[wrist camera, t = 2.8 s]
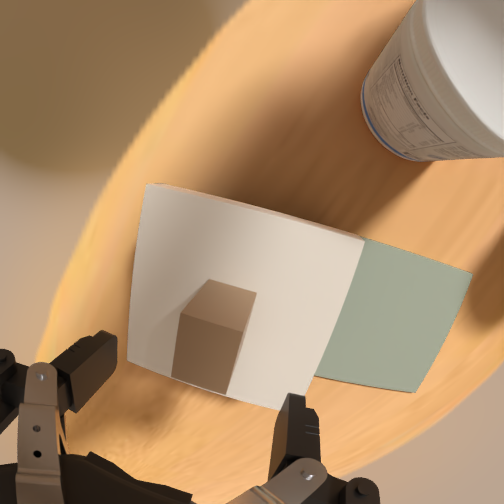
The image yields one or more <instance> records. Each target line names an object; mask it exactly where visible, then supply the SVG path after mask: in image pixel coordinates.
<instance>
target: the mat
mask: <svg viewBox="0 0 504 504" xmlns="http://www.w3.org/2000/svg"><path fill="white" fill-rule="evenodd" d="M359 237H360V238H362V239H363V240H364V241H365V243H364V246H363V249H362V253H361V256H360V259H359V262H358V265H357V268H356V270H355V273H354V276H353V279H352V282H351V285H350V288H349V290H348V293H347V296H346V298H345V301H344V304H343V306H342V309H341V312H340V314H339V317H338V319H337V322H336V325H335V327H334V330H333V332H332V334H331V337H330V339H329V342H328V344H327V347H326V349H325V351H324V354H323V356H322V358H321V361H320V363H319V365H318V367H317V370H316V372H315V374H314V375H315V376H320V377H324V378H329V379H334V380H339V381H344V382H349V383H355V384H360V385H366V386H372V387H378V388H385V389H391V390H398V391H406V392H414V393H416V391H417V389H418V388H419V386H420V385H421V383H422V381H423V379H424V378H425V376H426V374H427V373H428V371H429V369H430V367H431V366H432V364H433V362H434V360H435V358H436V356H437V355H438V353H439V351H440V349H441V347H442V345H443V343H444V341H445V339H446V337H447V335H448V333H449V331H450V329H451V327H452V324H453V322H454V320H455V318H456V316H457V313H458V311H459V309H460V307H461V304H462V302H463V299H464V297H465V295H466V292H467V290H468V287H469V284H470V282H471V279H472V276H473V274H472V273H469V272H467V271H464V270H461V269H458V268H455V267H453V266H450V265H447V264H444V263H441V262H438V261H435V260H432V259H429V258H426V257H423V256H420V255H417V254H414V253H411V252H408V251H405V250H402V249H399V248H396V247H393V246H390V245H387V244H383V243H380V242H377V241H374V240H371V239H367V238H364V237H361V236H359Z"/></svg>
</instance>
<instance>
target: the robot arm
mask: <svg viewBox="0 0 504 504" xmlns="http://www.w3.org/2000/svg"><path fill="white" fill-rule="evenodd" d="M116 365H117V337H116V336H115V335H113V334H110V333H108V332H106V331H104V330H101V331H99V332H98V333H97V334H96V335H95V336H93V337H92V336H87V337H84V338H81V339H79V340H78V341H77V342H76V343H74V345H72V346H70V347H69V348H68V349H67V350H65V351H64V352H63V353H62V354H60V355H59V356H58V357H57V358H55V359H54V360H53V361H52V362H50V363H49V364H48V363H44V362H38V363H34V364H32V365H31V366H30V367H28V366H26V365H22V364H19V363H16V361H15V357H14V355H13V353H12V352H11V351H9V350H6V349H0V434H1V433H2V432H3V431H4V430H5V429H6V428H7V427H8V425H9V424H10V423H11V422H12V421H13V420H14V419H15V418H16V417H17V416H18V415H19V417H18V439H17V440H18V443H17V454H18V456H17V459H18V463H11V464H4V465H0V504H196V503H194V502H193V501H191V498H192V495H193V494H190V493H187V492H184V491H181V490H178V489H175V488H172V487H169V486H166V485H161V484H155V483H150V482H144V481H140V480H136V479H134V478H133V477H131V476H130V475H129V474H127V473H126V472H124V471H123V470H122V469H120V468H119V467H118V466H116V465H115V464H114V463H112V462H110V461H108V460H106V459H104V458H102V457H100V456H98V455H97V454H95V453H93V452H91V451H90V452H89V454H88V455H87V456H82V455H76V454H70V452H69V447H68V439H67V429H66V417H65V412H66V411H67V410H68V409H69V410H71V411H73V412H75V413H77V412H78V411H79V410H80V409H81V408H82V407H83V406H84V405H85V403H86V402H87V401H88V400H89V399H90V398H91V397H92V396H93V395H94V393H95V392H96V391H97V390H98V389H99V388H100V387H101V386H102V385H103V384H104V382H105V381H106V380H107V379H108V378H109V377H110V376H111V375H112V374H113V372H114V371H115V368H116ZM319 434H320V433H319V418H318V416H317V414H316V412H315V411H314V409H310V408H306V399H305V396H303V395H298V394H294V393H288V394H287V396H286V398H285V401H284V403H283V405H282V407H281V410H280V412H279V414H278V417H277V419H276V423H275V427H274V435H273V443H272V451H271V459H270V467H269V474H268V482H266V483H265V484H263V485H262V486H260V487H259V486H254V487H252V488H251V489H249V490H247V491H246V492H244V493H243V494H241V495H240V496H238V497H236V498H235V499H233V500H231V501H230V502H228V503H226V504H380V497H379V489H378V487H377V486H376V484H375V483H374V482H373V481H371V480H369V479H366V478H362V477H360V478H359V477H358V478H354V479H352V480H350V481H349V482H346V481H344V480H341V479H338V478H335V477H333V476H331V475H330V474H328V473H327V470H326V468H325V466H324V465H323V464H322V463H321V456H320V436H319Z"/></svg>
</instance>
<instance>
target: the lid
mask: <svg viewBox="0 0 504 504" xmlns="http://www.w3.org/2000/svg"><path fill="white" fill-rule="evenodd" d="M364 243H365V241H364V240H363V239H362V238H360V237H359V236H358V235H356V234H353V233H350V232H347V231H343V230H340V229H336V228H333V227H330V226H326V225H323V224H319V223H316V222H312V221H309V220H305V219H302V218H298V217H295V216H291V215H287V214H284V213H280V212H276V211H273V210H269V209H265V208H261V207H258V206H254V205H250V204H246V203H242V202H238V201H234V200H230V199H226V198H222V197H218V196H214V195H210V194H206V193H202V192H198V191H193V190H189V189H185V188H181V187H176V186H172V185H167V184H163V183H153V184H146V189H145V194H144V199H143V205H142V211H141V217H140V223H139V230H138V237H137V244H136V251H135V259H134V268H133V277H132V287H131V298H130V310H129V325H128V344H127V361H129V362H131V363H134V364H136V365H139V366H141V367H143V368H146V369H148V370H151V371H153V372H156V373H159V374H161V375H164V376H166V377H169V378H172V379H175V380H177V381H180V382H183V383H186V384H189V385H192V386H195V387H198V388H201V389H204V390H207V391H210V392H213V393H216V394H220V395H223V396H226V397H230V398H233V399H237V400H240V401H244V402H248V403H251V404H255V405H259V406H263V407H267V408H271V409H275V410H281V407H282V405H283V403H284V401H285V398H286V396H287V394H288V393H294V394H298V395H303V396H305V394H306V391H307V389H308V387H309V385H310V383H311V381H312V378H313V376H314V374H315V372H316V370H317V367H318V365H319V363H320V361H321V358H322V356H323V354H324V351H325V349H326V347H327V344H328V342H329V339H330V337H331V334H332V332H333V330H334V327H335V325H336V322H337V319H338V317H339V314H340V312H341V309H342V306H343V304H344V301H345V298H346V296H347V293H348V290H349V288H350V285H351V282H352V279H353V276H354V273H355V270H356V268H357V265H358V262H359V259H360V256H361V253H362V249H363V246H364Z"/></svg>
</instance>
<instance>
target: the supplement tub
mask: <svg viewBox="0 0 504 504" xmlns="http://www.w3.org/2000/svg"><path fill="white" fill-rule="evenodd" d="M361 108H362V112H363V116H364V119H365V121H366V123H367V125H368V127H369V129H370V131H371V132H372V134H373V135H374V136H375V138H376V139H377V140H378V141H379V142H380V143H381V144H382V145H383V146H384V147H385V148H386V149H388V150H389V151H390V152H392V153H394V154H395V155H397V156H399V157H401V158H404V159H407V160H411V161H417V162H425V161H441V160H455V159H473V158H496V157H504V0H416V1H415V3H414V4H413V6H412V7H411V9H410V10H409V11H408V13H407V14H406V16H405V17H404V19H403V20H402V22H401V23H400V25H399V27H398V28H397V30H396V31H395V33H394V34H393V36H392V37H391V39H390V40H389V42H388V43H387V45H386V46H385V48H384V49H383V51H382V52H381V54H380V55H379V57H378V58H377V60H376V61H375V63H374V64H373V66H372V67H371V69H370V70H369V72H368V74H367V75H366V77H365V79H364V81H363V84H362V88H361Z"/></svg>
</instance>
